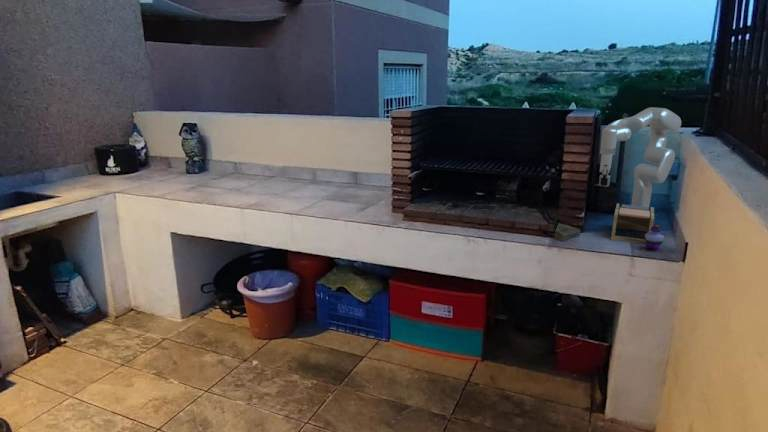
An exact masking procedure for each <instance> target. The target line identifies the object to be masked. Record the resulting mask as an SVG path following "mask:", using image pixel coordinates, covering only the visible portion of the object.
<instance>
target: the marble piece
mask: <svg viewBox="0 0 768 432" xmlns="http://www.w3.org/2000/svg"><path fill="white" fill-rule="evenodd" d="M557 223H558V225H557V228H556V230H555V233H554V237H553V238H555V240H559V241H560V242H565V241H569V240H571V239H573V238H577V237H578V238H579V237H580V235H581V229H579V228H578V227H577V228H576V227H574V226H571V225H568V224H563V223H560V222H557Z"/></svg>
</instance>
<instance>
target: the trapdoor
mask: <svg viewBox="0 0 768 432" xmlns="http://www.w3.org/2000/svg"><path fill="white" fill-rule="evenodd" d="M649 209H650V206H649V207H643V206H634V205H631V204H624V203H621V205H620V207H619V215H622V216H631V217H639V218H648V219H650V210H649Z"/></svg>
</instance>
